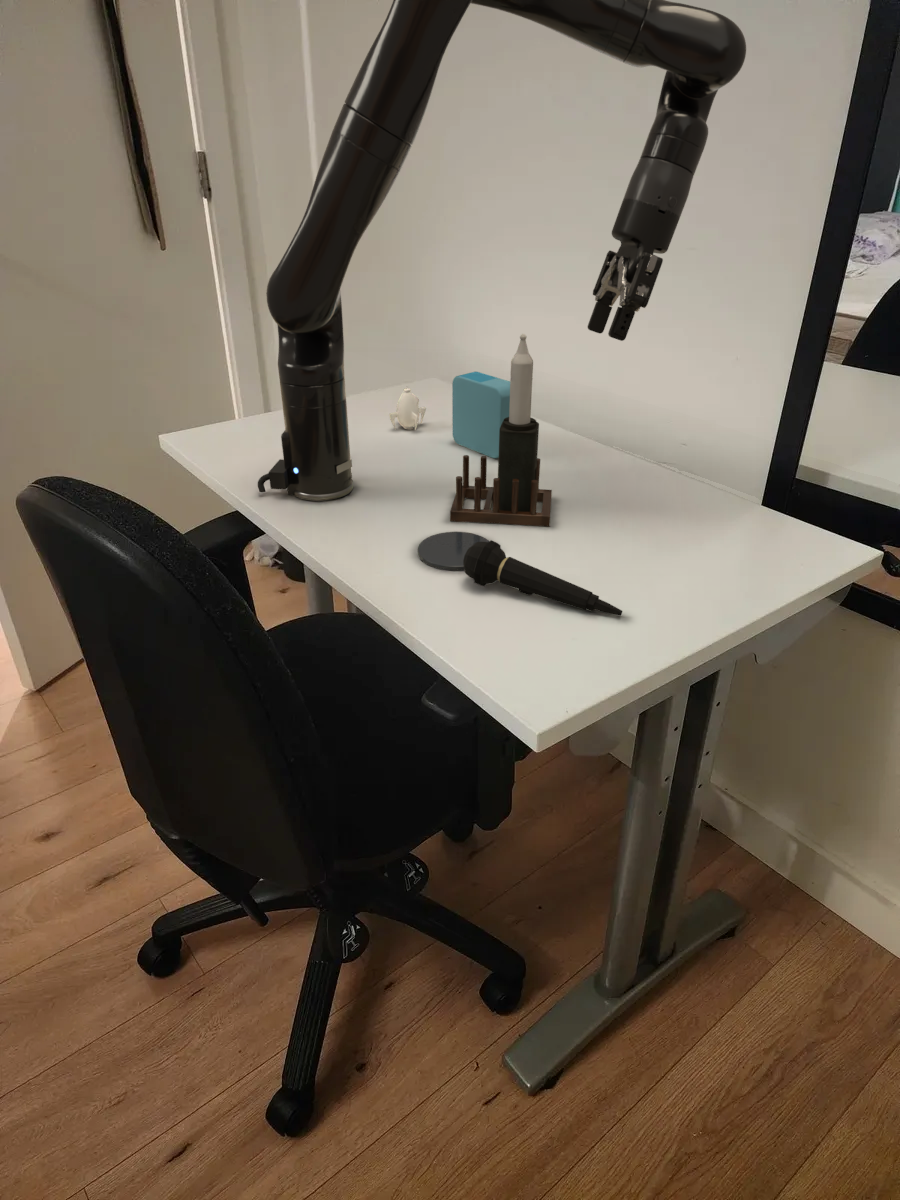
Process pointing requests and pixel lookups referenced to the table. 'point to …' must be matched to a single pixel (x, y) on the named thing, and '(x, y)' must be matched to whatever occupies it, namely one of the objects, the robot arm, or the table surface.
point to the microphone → (527, 578)
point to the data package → (479, 411)
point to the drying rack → (493, 497)
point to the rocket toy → (408, 410)
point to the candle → (518, 434)
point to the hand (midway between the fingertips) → (604, 335)
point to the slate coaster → (447, 549)
